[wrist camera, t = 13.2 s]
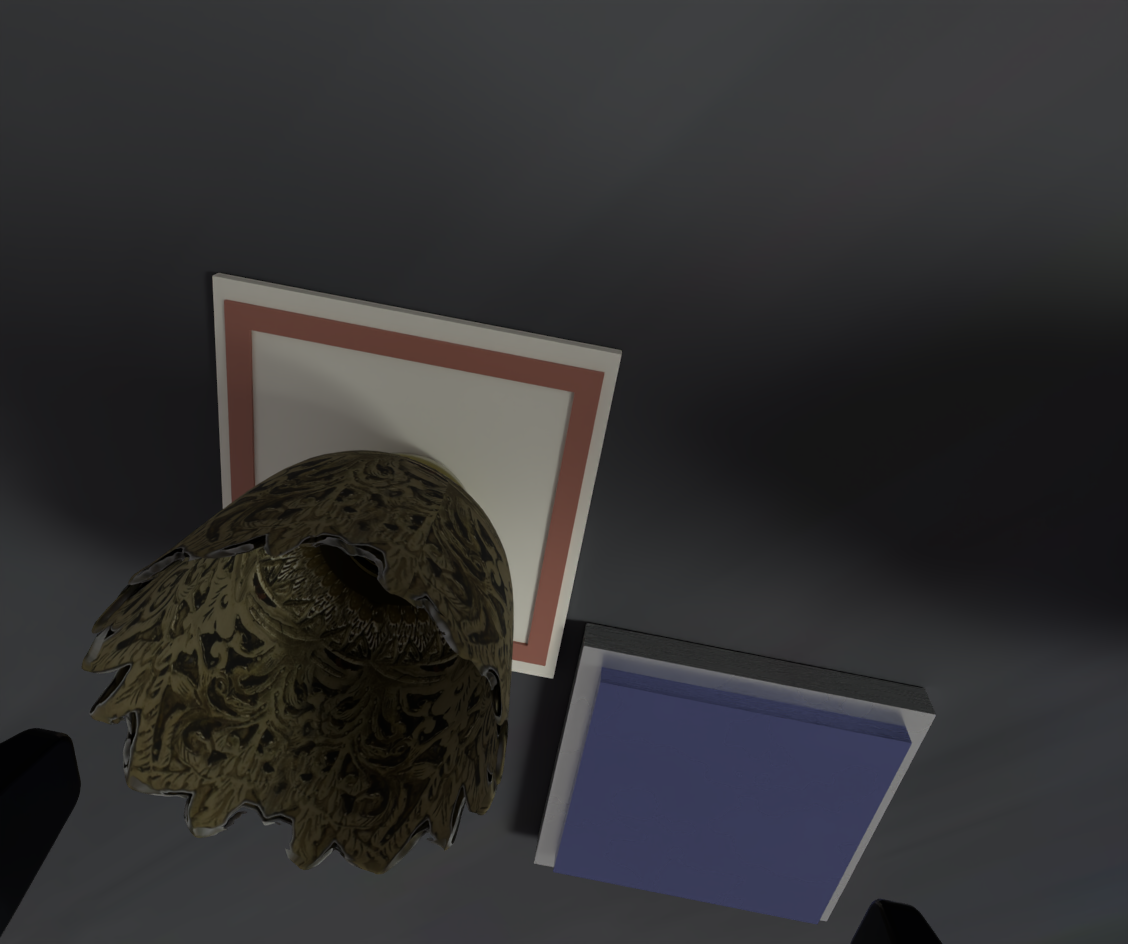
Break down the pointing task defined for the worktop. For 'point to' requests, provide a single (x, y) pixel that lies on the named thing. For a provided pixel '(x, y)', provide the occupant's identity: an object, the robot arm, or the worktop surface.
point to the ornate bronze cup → (321, 660)
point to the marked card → (424, 419)
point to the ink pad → (723, 773)
